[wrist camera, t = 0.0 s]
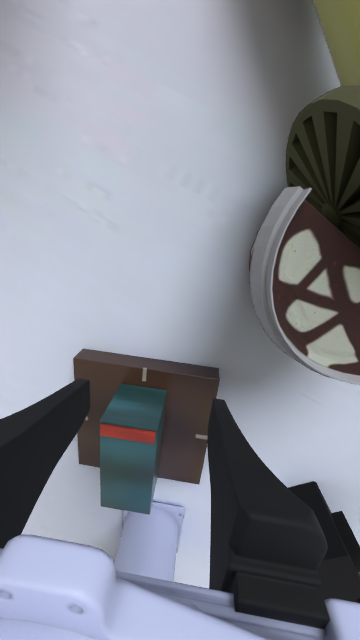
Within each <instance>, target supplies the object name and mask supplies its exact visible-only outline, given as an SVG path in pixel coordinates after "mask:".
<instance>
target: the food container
mask: <svg viewBox="0 0 360 640" xmlns="http://www.w3.org/2000/svg"><path fill="white" fill-rule="evenodd" d="M311 190H312V188H308V189H305V190H303V189H302V188H301V187H300V186H298V187H287V188H284V189H283V191H282V192H281V194H280V195H279V197H278V198H277V199H276V201H275V202H274V204H273V205H272V207H271V209H270V211H269V212H268V214H267V216H266V218H265V220H264V222H263V224H262V226H261V228H260V229H259V230H258V232H257V235H256V237H255V240H254V242H253V245H252V248H251V250H250V263H249V271H250V288H251V296H252V302H253V305H254V308H255V312H256V315H257V317H258V319H259V321H260V323H261V325H262V327H263V329H264V331H265V332H266V333H267V335H268V336H269V337H270V339H271V340H272V341H273V342H274V343H275V344H276V345H277V346H278V347H279V348H280V349H281V350H282V351H283V352H284V353H286V354H287V355H289V356H290V357H292V358H293V359H295V360H296V361H298V362H299V363H301V364H302V365H304V366H306V367H307V368H309V369H310V370H312V371H315V372H317V373H319V374H321V375H324V376H326V377H330V378H333V379H337V380H340V381H344V382H347V383H351V384H358V385H360V248H359V247H358V246H357V245H356V244H354V243H353V242H352V241H351V240H350V239H349V238H348V237H346V236H345V235H344V234H343V233H342V232H341V231H340V230H339V229H338V228H336V227H335V226H334V225H333V224H332V223H331V222H330V221H329V220H328V219H327V218H325V217H324V216H323V215H322V214H321V213H320V212H319V211H318V210H317V209H315V208H314V207H313V206H312V205H311V204H310V203H309V202H308V201H307V200H305V198H306V197H307V195H308V194H309V193H310V191H311Z"/></svg>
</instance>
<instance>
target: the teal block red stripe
mask: <svg viewBox="0 0 360 640" xmlns="http://www.w3.org/2000/svg"><path fill="white" fill-rule="evenodd" d="M166 398H167V390H161V389H154V388H147V387H141V386H134V385H127V384H120V386H119V388H118V389H117V391H116V393H115V395H114V396H113V398H112V400H111V402H110V404H109V405H108V407H107V409H106V411H105V413H104V414H103V416H102V418H101V420H100V481H101V506H103V507H109V508H114V509H120V510H125V511H131V512H136V513H142V514H148V515H150V511H151V506H152V501H153V496H154V491H155V485H156V480H157V475H158V470H159V464H160V455H161V446H162V436H163V427H164V417H165V408H166Z"/></svg>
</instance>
